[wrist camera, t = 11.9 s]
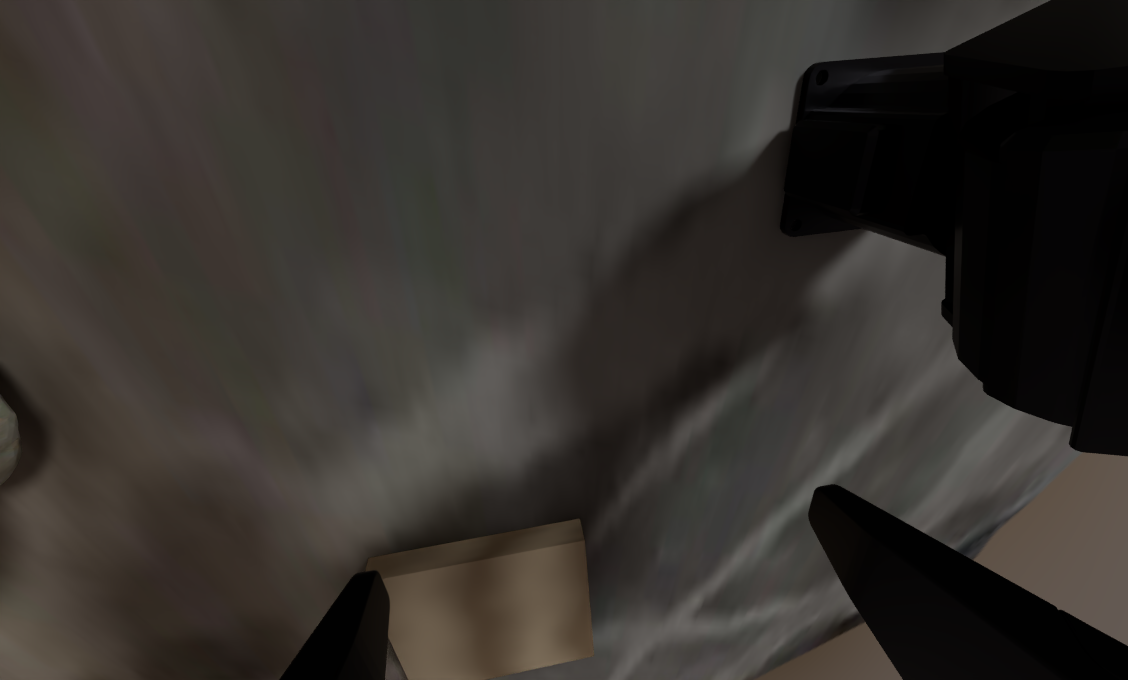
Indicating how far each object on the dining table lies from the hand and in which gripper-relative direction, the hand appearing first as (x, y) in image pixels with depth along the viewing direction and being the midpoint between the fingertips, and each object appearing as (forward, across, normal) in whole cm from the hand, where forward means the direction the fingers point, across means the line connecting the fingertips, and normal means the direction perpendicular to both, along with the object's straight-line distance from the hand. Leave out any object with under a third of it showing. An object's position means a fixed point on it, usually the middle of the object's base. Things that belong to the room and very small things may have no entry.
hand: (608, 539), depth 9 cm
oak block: (+13, +5, +20) cm, 24 cm away
